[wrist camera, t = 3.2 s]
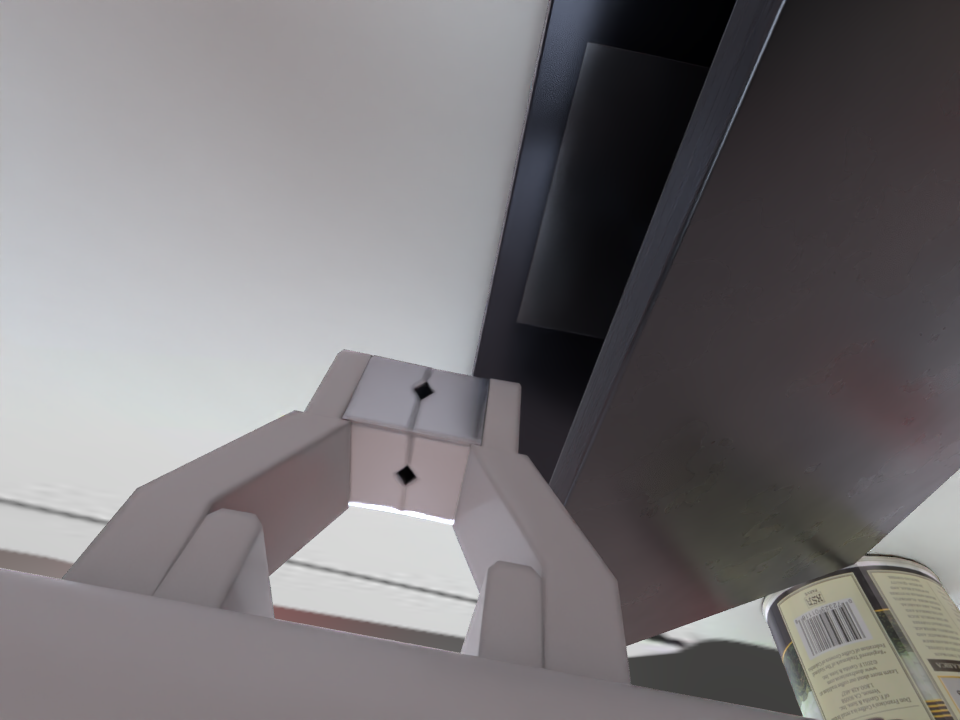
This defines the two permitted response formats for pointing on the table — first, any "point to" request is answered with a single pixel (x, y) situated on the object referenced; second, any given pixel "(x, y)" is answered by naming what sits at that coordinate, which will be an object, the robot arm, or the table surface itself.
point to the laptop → (587, 193)
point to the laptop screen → (783, 317)
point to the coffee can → (870, 642)
